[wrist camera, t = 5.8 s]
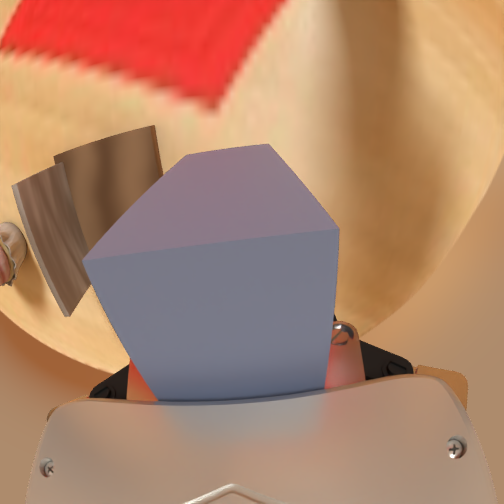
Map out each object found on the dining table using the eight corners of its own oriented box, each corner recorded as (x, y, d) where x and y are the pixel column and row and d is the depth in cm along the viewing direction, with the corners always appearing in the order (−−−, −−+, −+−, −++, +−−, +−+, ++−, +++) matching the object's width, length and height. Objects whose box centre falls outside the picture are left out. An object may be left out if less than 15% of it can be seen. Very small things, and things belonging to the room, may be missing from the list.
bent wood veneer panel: (154, 125, 24) (114, 133, 16) (183, 265, 32) (167, 321, 23) (60, 153, 24) (6, 176, 16) (97, 274, 32) (66, 323, 23)
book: (268, 143, 13) (339, 228, 4) (283, 329, 18) (307, 470, 10) (186, 155, 13) (81, 260, 4) (224, 336, 18) (221, 477, 10)
